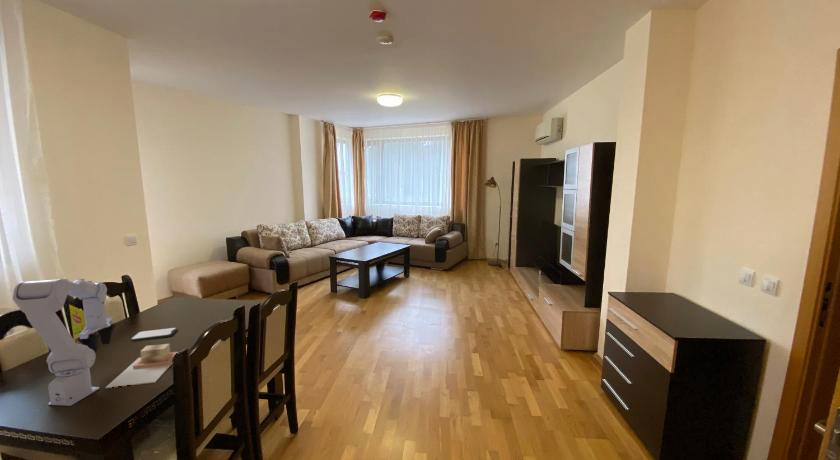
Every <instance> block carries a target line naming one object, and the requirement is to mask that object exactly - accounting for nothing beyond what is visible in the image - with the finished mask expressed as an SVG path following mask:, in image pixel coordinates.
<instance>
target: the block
mask: <svg viewBox="0 0 840 460" xmlns="http://www.w3.org/2000/svg"><path fill="white" fill-rule="evenodd" d="M170 352H171V347H170V343H163V344H153V345H145V347H144V348H142V349H141V350H140V357H141V361H142V364H144V363H154V362H163V361H168V359H169V358H170V357H171V355H170Z"/></svg>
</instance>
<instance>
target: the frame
mask: <svg viewBox="0 0 840 460" xmlns="http://www.w3.org/2000/svg"><path fill="white" fill-rule="evenodd" d="M176 353H178V354H179V351H172V352H171V351H170V355H171V357H170V358H169V359H168V361H163V362H154V363H144V364H142V361H141V359H140V360H139V361H138V362H137V363H135V364H134V365H133V369H136V368H145V367H154V366H163V365H169V364H170V363H171V362H172V359H173V357H174V355H175V354H176Z"/></svg>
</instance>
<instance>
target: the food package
mask: <svg viewBox="0 0 840 460" xmlns="http://www.w3.org/2000/svg"><path fill="white" fill-rule="evenodd" d="M68 307H69V312H70V313H69V315H70V320H71V321H70V322H71V328H72V329H71V330H72V338H73V340H74V341H75V343H77V344H81V345H83V344H82V343H80V342H79V341H78V337H80V335H79V334H80V333H82V332H83V330H84V329H85V327H86V324H85V316H84V309H80V308H78V307H75V306H74V305H71V304H68Z"/></svg>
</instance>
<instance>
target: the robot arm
mask: <svg viewBox="0 0 840 460" xmlns="http://www.w3.org/2000/svg"><path fill="white" fill-rule="evenodd" d="M107 293H108V287H107V286H106V284H105V283H102V282H93V281H92V280H85V278H78V279H76V280H73V281H71V280H68V278H58V279H45V280H29V281H27V280H23V281H20V282H18V283H17V285H15V287H14V289H13V293H12V294H13V295H12V301H14V303H15V304H16V306H17V307H18V308H19V309H20V311H21V312H22V313H24V314H25V316H26V317H25V318H26V319H27V321H28V322H29V324H30V325H31V326H32V328H33V329H34V330H35V332H36V333H37V334H38V335H39V337H40V338H41V340H43V342H44V343H45V345H46V346H47V348H49V350H50V352H49V355H48V356H47V358H46V363H47V366H48V367H47V368H48V370H49V372H50V373H51V374H54V375H55V377H56V378H54V379H52V381H51V382H49V384H48V386H47V388H48V389H47V391H48V398H49V402H48V404H47V405H48V406H49V405H50V406H73V405H74V404H77V403H78V402H80V401H82V399H84V398H86V397H87V396H90V395H91V394H93V393H95V392H97V391H98V390H100V387H99V386H92V377H91V371H90V370H91V369H90V368H91V367H92V366H93V365H94V364H95V361H96V357H97V356H96V355H97V352H98V341H99V338H100V342H101V344H102V345H110V343H111V339H112V336H113V335H112V334H113V332H114V329H115V328H116V323H113V317H107V312H106V311H107V310H106V304H105V303H106V300H107ZM68 296H70V297H74V298H78V299H79V300H80V301H81V300H82V307H83V311H84V316H85V324H86V327H85V329H84V330H83V332H82V333H80V334H79V335H80V337H78V341H79V342H80V343H82V344H83V345H81V344H77V343H75V341H74V337H73V336H72V335H71V333H69V331H68V329H67V328H66V326H65V324H64V323H63V322H62V321H61V319H60V317H59V316H58V315H57V313H56V312H58V311H60V310H62V309H63V308H64V305H65V303H66V301H67V300H66V299H67V297H68ZM96 332H98V335H97V334H94V333H96Z"/></svg>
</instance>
